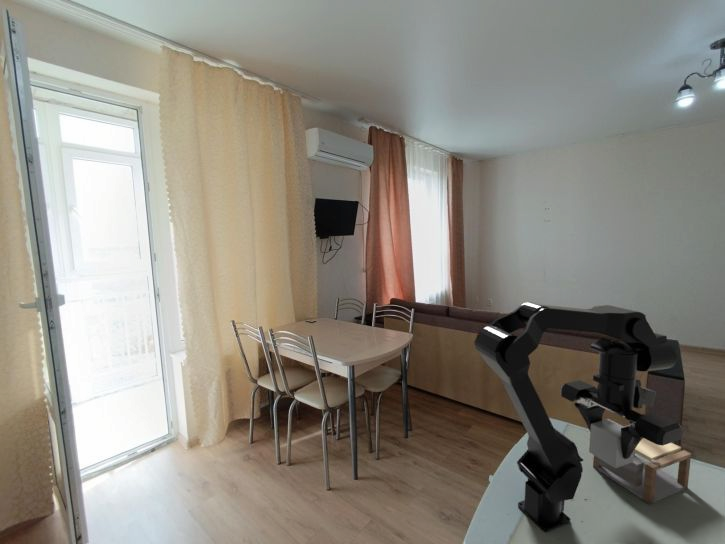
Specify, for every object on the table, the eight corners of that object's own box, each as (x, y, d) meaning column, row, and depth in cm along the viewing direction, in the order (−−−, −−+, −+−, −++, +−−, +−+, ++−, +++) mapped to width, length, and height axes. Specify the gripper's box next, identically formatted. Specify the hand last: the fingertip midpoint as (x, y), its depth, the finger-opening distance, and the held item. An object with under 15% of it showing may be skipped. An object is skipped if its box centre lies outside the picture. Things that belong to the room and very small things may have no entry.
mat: (649, 504, 65) (649, 501, 65) (592, 466, 75) (593, 464, 75) (687, 487, 69) (687, 485, 68) (628, 454, 79) (629, 452, 79)
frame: (649, 504, 65) (653, 465, 64) (592, 466, 75) (595, 433, 74) (687, 487, 69) (691, 451, 68) (628, 454, 79) (631, 422, 78)
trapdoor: (637, 488, 65) (639, 462, 65) (596, 462, 73) (598, 438, 72) (678, 472, 70) (681, 447, 69) (636, 449, 77) (638, 426, 77)
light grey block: (615, 468, 62) (617, 438, 61) (589, 452, 66) (590, 423, 66) (633, 461, 63) (635, 432, 63) (606, 446, 68) (608, 418, 67)
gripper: (706, 386, 57) (697, 471, 59) (597, 351, 74) (593, 417, 76) (664, 398, 53) (656, 487, 55) (560, 358, 71) (557, 427, 72)
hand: (611, 449), depth 65 cm, fingers closed on light grey block, 5 cm apart
